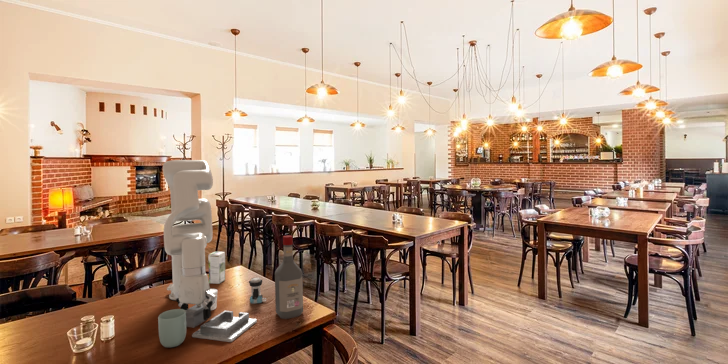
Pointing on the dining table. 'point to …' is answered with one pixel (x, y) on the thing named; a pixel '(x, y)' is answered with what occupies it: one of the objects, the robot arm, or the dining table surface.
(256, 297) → the push button
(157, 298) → the dining table surface
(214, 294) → the white cylinder
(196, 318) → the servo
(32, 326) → the dining table surface
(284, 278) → the liquor
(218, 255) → the syrup box
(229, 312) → the plate
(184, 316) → the cup
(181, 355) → the dining table surface
